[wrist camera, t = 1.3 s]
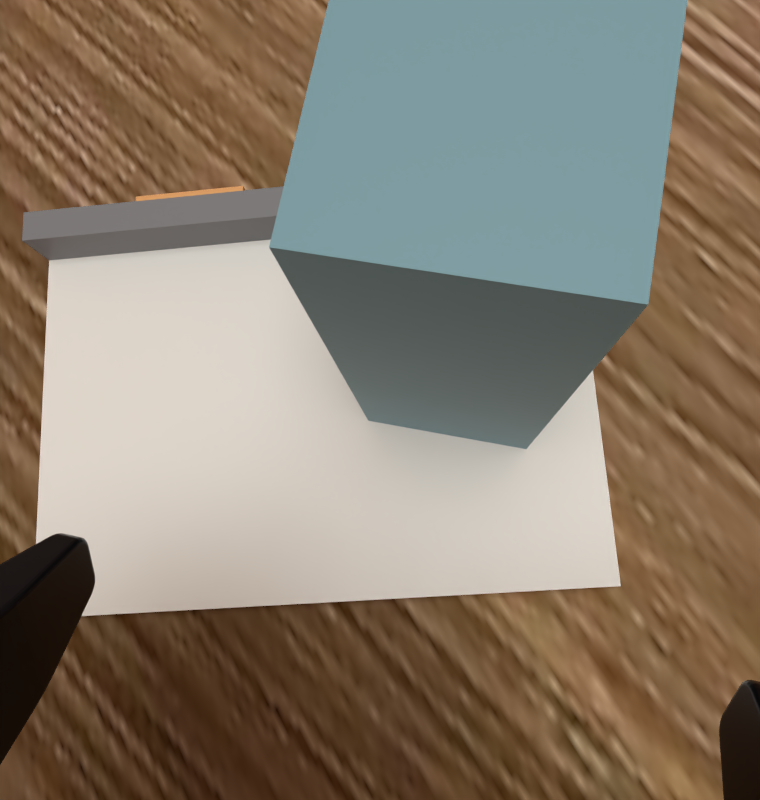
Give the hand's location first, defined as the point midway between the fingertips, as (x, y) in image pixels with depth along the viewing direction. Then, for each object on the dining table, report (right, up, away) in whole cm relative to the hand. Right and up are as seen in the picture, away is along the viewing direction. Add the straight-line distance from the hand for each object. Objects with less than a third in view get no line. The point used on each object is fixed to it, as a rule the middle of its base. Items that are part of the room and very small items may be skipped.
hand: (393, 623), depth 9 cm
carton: (+2, +4, +13) cm, 14 cm away
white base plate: (-2, +3, +14) cm, 15 cm away
